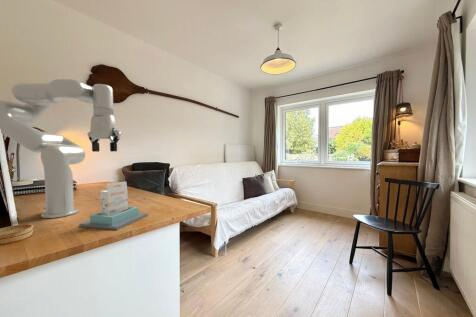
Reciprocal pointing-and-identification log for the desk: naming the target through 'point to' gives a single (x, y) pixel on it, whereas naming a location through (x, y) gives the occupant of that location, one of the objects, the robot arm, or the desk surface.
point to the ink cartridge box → (114, 199)
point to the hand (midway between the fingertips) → (104, 151)
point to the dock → (114, 219)
